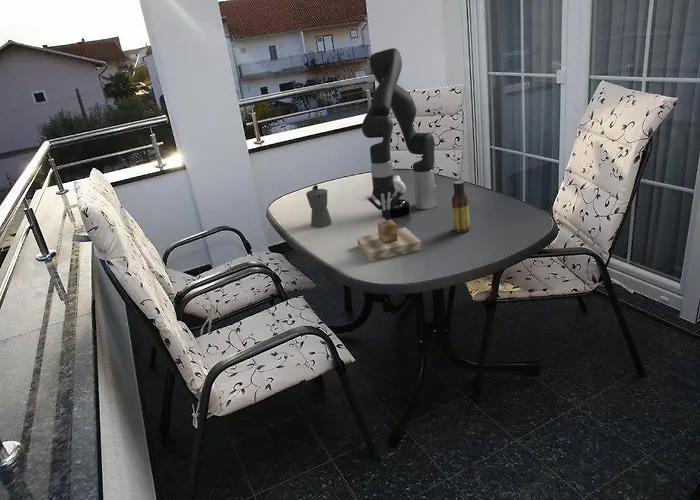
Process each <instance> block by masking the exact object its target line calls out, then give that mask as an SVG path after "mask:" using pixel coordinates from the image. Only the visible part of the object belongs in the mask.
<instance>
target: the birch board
mask: <svg viewBox="0 0 700 500" xmlns="http://www.w3.org/2000/svg"><path fill="white" fill-rule="evenodd" d="M397 238H398V240H397V241H393V242H388V243H383V242H382V241H381V240H380V239H379V234H378V232H377V233H373V234H368V235H363V236H359V237H356V241H357V246H358V248H359V249H360V250H361V252H362V253H363V254H364V256H365V257H366V258H367V260H368V261H369V262H374V261H379V260H382V259H388V258H392V257H397V256H400V255H401V256H402V255H405V254H410V253H414V252H420V251H422V241H421V240H420V239H419V238H418V237H417V236H416V235H414V234H413V232H411V231H410V230H409V229H408V228H407V227H406V226H405V227H401V228H397Z"/></svg>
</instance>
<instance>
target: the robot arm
mask: <svg viewBox="0 0 700 500" xmlns="http://www.w3.org/2000/svg"><path fill="white" fill-rule="evenodd" d="M369 65H370V69H371V72H372V74H373V76H374V78H375V80H376V81H377V83H378V86H376V88H375V89H374V91H373V94H372V97H371V101H370V102H371V103H370V108H369V109H368V111H367V114H366V115H365V117H364V118H363V122H362V125H361V131H362V134H363V135H364V137H366V138H368V139H377V138H378V139H379V138H382V141H381V142H378V143H374V144H372V145H371V146H370V147H369V154H370V163H371V164H370V171H371V179H372V180H371V181H372V182H371V183H372V192H371V193H372V194H371V195H370V196H368V197H367V200H368V202H370V204H372V205H373V206H374V207H375V208H376V209H377V210H378V211H380V210H381V216H382V219H384V221H387V220H390V218H391V216H392V215H391V209H392V208H394V207H395V206H396V205H397V203H398V201H399V199H400V198H401V196H402V194H401V193H400V192H399V191H396V190H395V187H394V182H393V177H394V170H393V165H392V155H391V140H392V134H393V130H394V123H393V120H392V118H391V117H390V116H389V115H390V114H391V111H392V113H393V115H394V117H395V119H396V121H397V123H398V125H399V129H400V130H401V131H400V132H402V133H401V134H402V135H403V136H402V137H403V138H404V142H405V145H406V147H407V150H408V152H409V153H410V154H411V155H420V156H421V155H422V159H421V160H418V161H416V162H413V164H412V177H413V193H414V194H413V195H414V206H415V208H416V209H417V210H429V209H433V208H435V207H438V194H437V192H438V191H437V185H436V184H435V139H434V136H433V134H432V133H430V132H417V131H415V128H414V122H415V118H416V115H417V106H416V104H415V101H414V100H413V97H412V95H411V94H410V93H409V91H407V90H406V89H404V88H403V87H401V86H400V85H398V84H397V83H398V81H399V78H400V74H401V72H402V68H403V59H402V57H401V54H400V51H399V50H398V48H394V47H392V48H387V49H384V50H381V51H377V52H374V53H373V54H371V55H370V57H369ZM393 194H394V197H392V196H393ZM376 200H378V202H379V204H378V203H377V202H376Z"/></svg>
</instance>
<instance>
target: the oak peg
mask: <svg viewBox="0 0 700 500" xmlns="http://www.w3.org/2000/svg"><path fill="white" fill-rule="evenodd" d="M376 224H377V231H378V232H377V233H378V234H379V239H380V240H381V241H382V242H383V243H388V242H393V241H397V240H398V238H397V229H398V228H397V226H398V225H397V223H396V222H394V221H393V220H392V219H386V220H383V221H382V220H381V221H378V222H377V223H376Z"/></svg>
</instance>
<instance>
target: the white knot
mask: <svg viewBox="0 0 700 500" xmlns="http://www.w3.org/2000/svg"><path fill="white" fill-rule="evenodd" d="M393 182H394V187H395V190H396V191H399V192H400V193H401V195H403V194H405V193H406V190H407V187H406V185H405V183H404V182H403V181H402V180H401V177H400V176H399V175H393ZM393 197H394V194H393V196H392V198H393Z"/></svg>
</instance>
